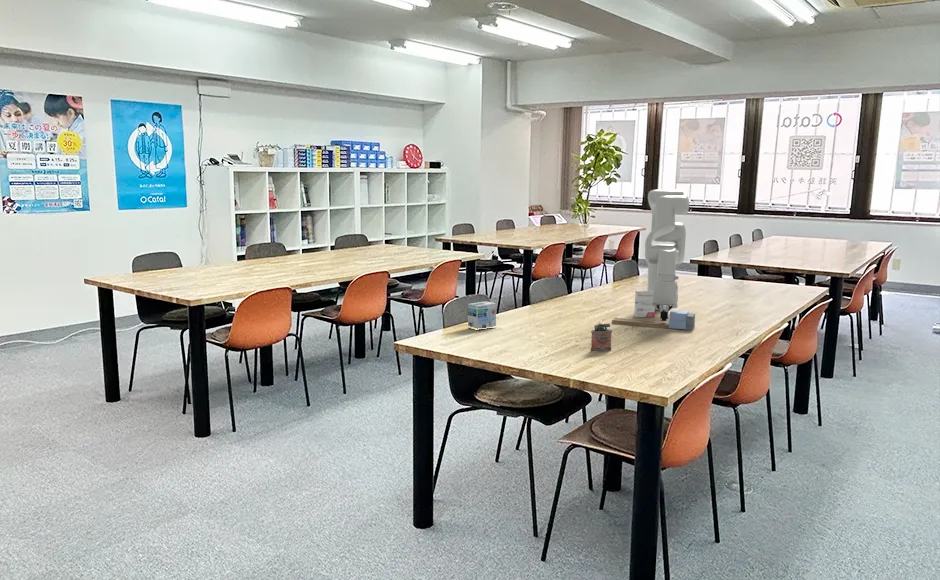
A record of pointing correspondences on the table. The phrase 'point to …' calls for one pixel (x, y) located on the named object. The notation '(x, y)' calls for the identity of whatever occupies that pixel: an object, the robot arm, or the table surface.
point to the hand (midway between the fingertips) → (663, 320)
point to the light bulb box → (482, 314)
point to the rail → (655, 322)
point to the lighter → (601, 338)
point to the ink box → (644, 304)
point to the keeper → (678, 319)
